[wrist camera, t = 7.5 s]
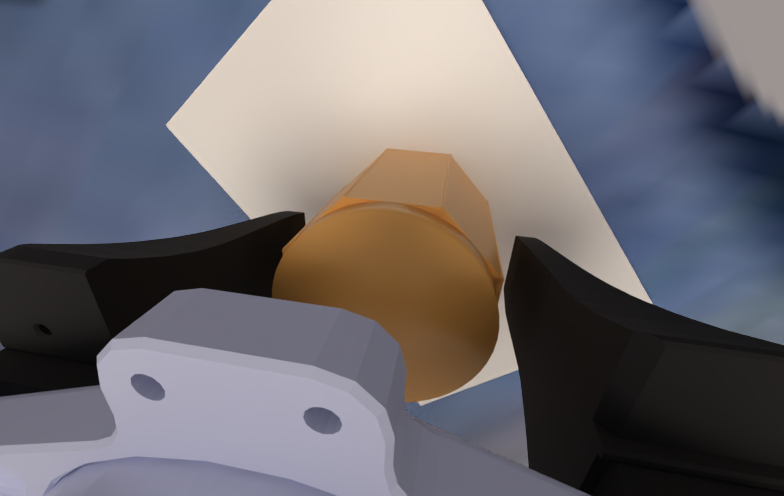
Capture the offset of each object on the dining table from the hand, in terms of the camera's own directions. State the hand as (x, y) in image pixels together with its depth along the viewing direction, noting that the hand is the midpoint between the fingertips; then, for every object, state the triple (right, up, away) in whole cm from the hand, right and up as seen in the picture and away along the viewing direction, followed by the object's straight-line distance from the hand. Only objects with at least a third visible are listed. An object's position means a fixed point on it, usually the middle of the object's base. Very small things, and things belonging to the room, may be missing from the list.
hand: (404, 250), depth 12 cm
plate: (+1, +2, +3) cm, 4 cm away
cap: (0, +1, +2) cm, 3 cm away
